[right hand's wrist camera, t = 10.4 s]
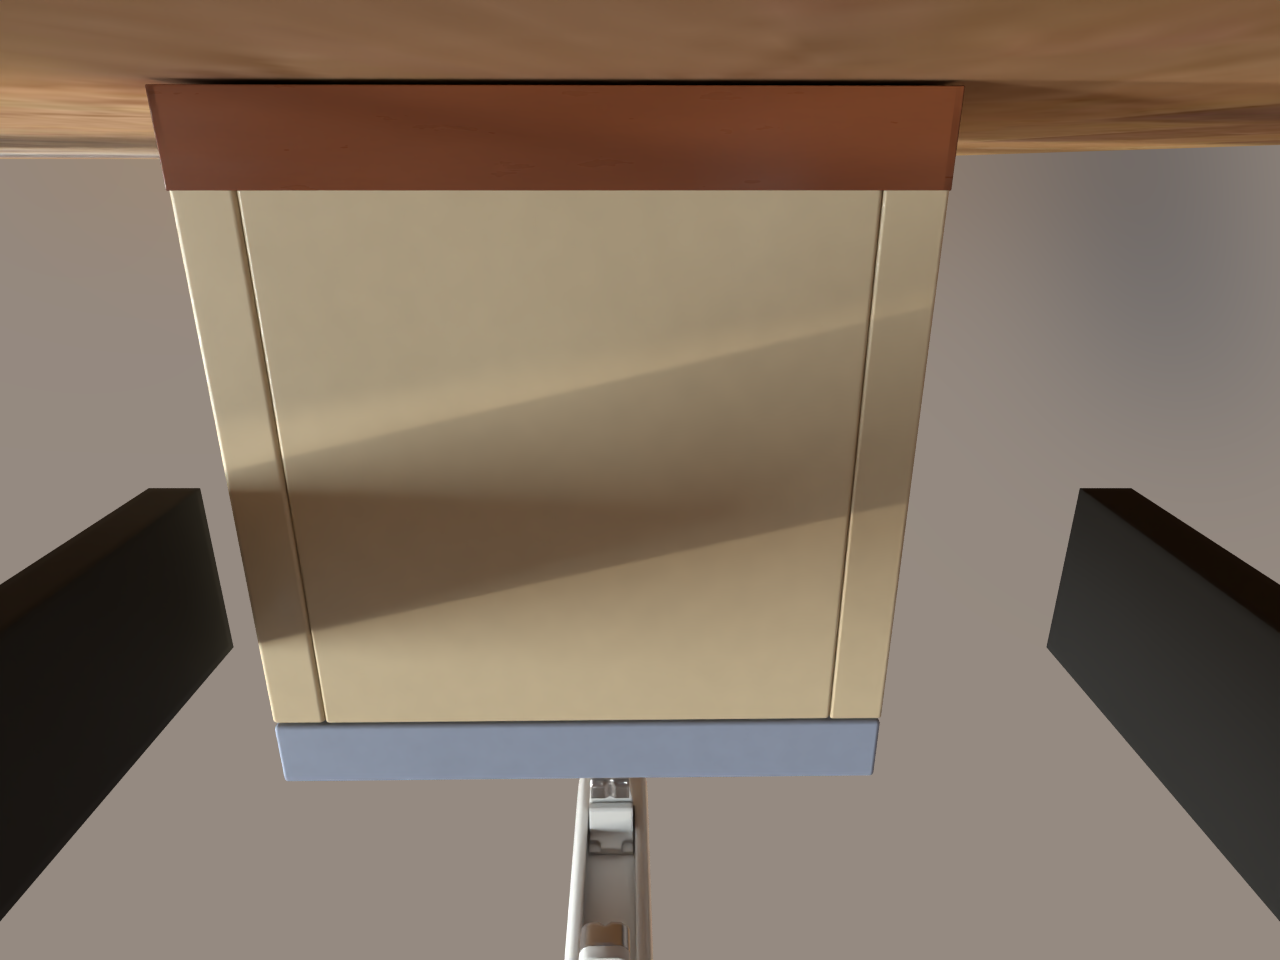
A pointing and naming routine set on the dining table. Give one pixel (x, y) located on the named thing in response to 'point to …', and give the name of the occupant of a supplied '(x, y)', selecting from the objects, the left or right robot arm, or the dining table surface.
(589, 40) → the dining table surface
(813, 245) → the chest
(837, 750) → the lid
